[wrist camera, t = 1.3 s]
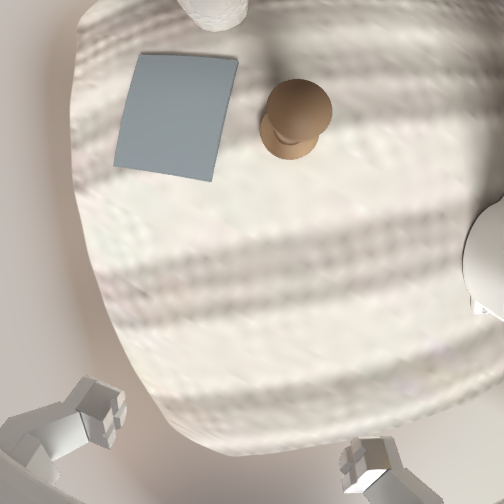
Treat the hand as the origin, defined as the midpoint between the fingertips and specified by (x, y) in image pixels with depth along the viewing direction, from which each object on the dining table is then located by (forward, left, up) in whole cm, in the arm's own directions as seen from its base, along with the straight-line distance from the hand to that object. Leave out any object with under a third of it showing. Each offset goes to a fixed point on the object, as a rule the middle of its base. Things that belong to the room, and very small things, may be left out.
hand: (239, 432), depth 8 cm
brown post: (0, -13, -25) cm, 28 cm away
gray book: (+13, -13, -25) cm, 31 cm away
